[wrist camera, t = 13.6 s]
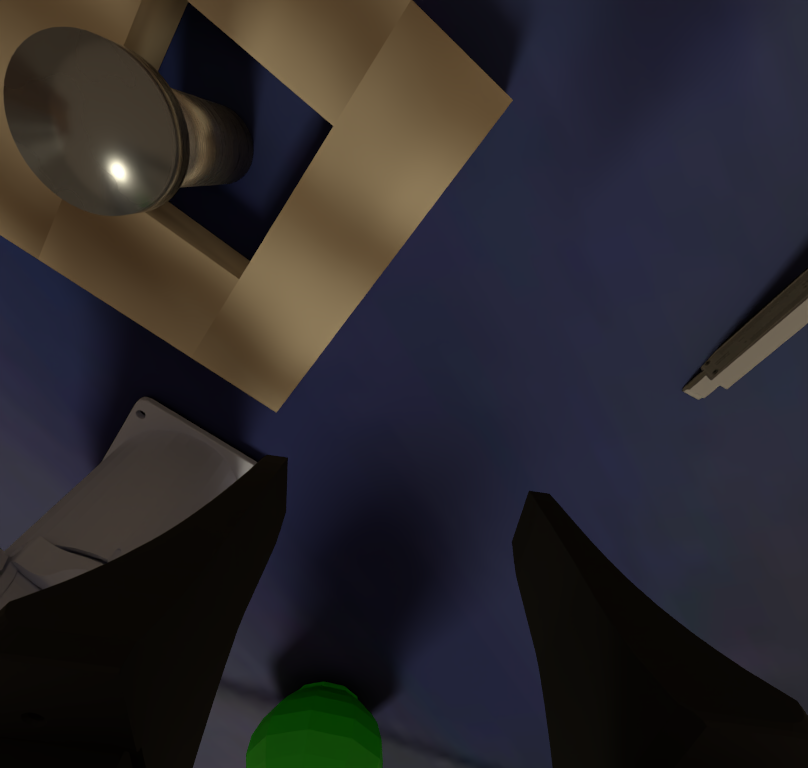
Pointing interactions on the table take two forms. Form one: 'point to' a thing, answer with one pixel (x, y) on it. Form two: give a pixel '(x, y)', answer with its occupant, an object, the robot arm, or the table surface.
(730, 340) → the caliper
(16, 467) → the table surface
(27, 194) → the square wooden frame
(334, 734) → the plastic bottle
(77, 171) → the steel pin
